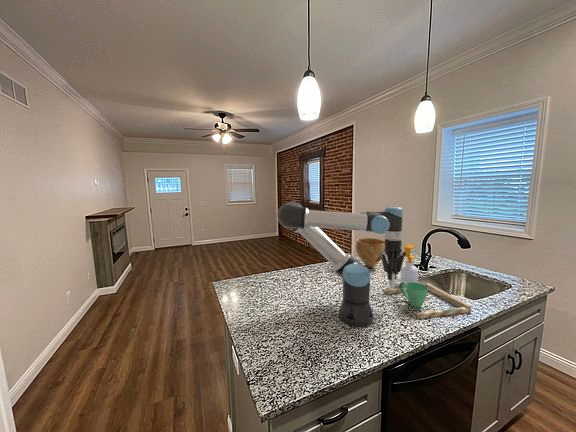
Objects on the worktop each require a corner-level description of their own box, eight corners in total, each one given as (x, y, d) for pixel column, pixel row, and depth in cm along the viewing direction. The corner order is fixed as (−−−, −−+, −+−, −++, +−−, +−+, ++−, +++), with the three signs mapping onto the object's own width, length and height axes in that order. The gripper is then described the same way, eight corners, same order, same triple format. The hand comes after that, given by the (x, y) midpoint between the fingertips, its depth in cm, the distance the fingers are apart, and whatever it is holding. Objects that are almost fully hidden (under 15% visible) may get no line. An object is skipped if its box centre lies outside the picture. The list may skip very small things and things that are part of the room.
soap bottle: (420, 286, 144) (423, 246, 141) (409, 289, 141) (411, 247, 138) (408, 281, 153) (410, 242, 150) (397, 283, 149) (398, 244, 146)
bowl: (365, 260, 194) (366, 236, 192) (390, 267, 179) (391, 240, 176) (349, 266, 181) (350, 240, 179) (374, 274, 166) (375, 245, 163)
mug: (431, 307, 120) (433, 288, 119) (417, 311, 116) (418, 291, 115) (406, 295, 134) (407, 277, 132) (393, 298, 130) (394, 280, 129)
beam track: (418, 318, 111) (418, 312, 110) (384, 292, 137) (384, 287, 137) (471, 312, 115) (471, 306, 115) (428, 288, 142) (428, 283, 142)
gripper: (385, 241, 114) (384, 290, 117) (410, 239, 116) (408, 287, 119) (376, 238, 121) (375, 284, 124) (400, 236, 123) (399, 281, 126)
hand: (391, 285), depth 122 cm, fingers closed
